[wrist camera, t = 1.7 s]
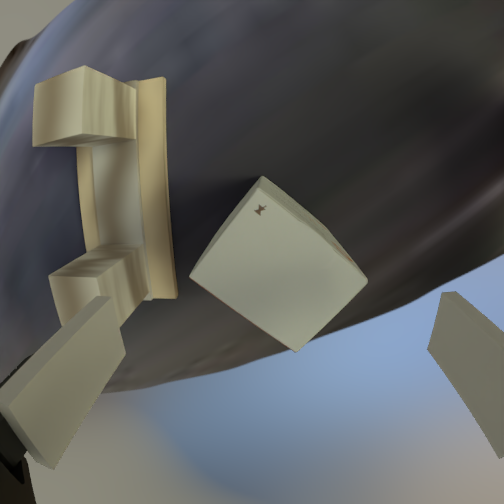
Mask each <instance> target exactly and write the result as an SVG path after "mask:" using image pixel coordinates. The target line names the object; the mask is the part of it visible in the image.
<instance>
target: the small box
mask: <svg viewBox="0 0 504 504" xmlns="http://www.w3.org/2000/svg"><path fill="white" fill-rule="evenodd" d="M189 278H190V279H192V280H193V281H194V282H196V283H197V284H198V285H200V286H201V287H202V288H204V289H205V290H206V291H208V292H209V293H211V294H212V295H213V296H215V297H216V298H217V299H219V300H220V301H221V302H223V303H224V304H226V305H227V306H228V307H230V308H231V309H233V310H234V311H236V312H237V313H239V314H240V315H241V316H243V317H244V318H245V319H247V320H248V321H250V322H251V323H253V324H254V325H255V326H257V327H258V328H260V329H261V330H263V331H264V332H266V333H267V334H268V335H270V336H271V337H273V338H274V339H276V340H277V341H279V342H280V343H282V344H283V345H285V346H286V347H288V348H289V349H291V350H292V351H294V352H298V351H299V350H300V349H301V348H302V347H303V346H304V345H305V344H306V343H307V342H308V341H309V340H310V339H311V338H313V337H314V336H315V335H316V334H317V333H318V332H319V331H320V330H321V329H322V328H323V327H324V326H325V325H326V324H327V323H328V322H329V321H330V320H331V319H332V318H333V317H334V316H335V315H336V314H337V313H339V312H340V311H341V310H342V309H343V308H344V307H345V306H346V305H347V304H348V303H349V302H350V301H351V300H352V299H353V298H354V297H355V295H356V294H357V293H358V292H359V291H360V290H361V289H362V288H363V287H364V286H365V285H366V284H367V283H368V279H367V278H366V276H365V275H364V274H363V272H362V271H361V270H360V268H359V267H358V266H357V265H356V264H355V262H354V261H353V260H352V258H351V257H350V256H349V255H348V253H347V252H346V251H345V250H344V248H343V247H342V246H341V245H340V244H339V243H338V241H337V240H336V239H335V238H334V236H333V235H332V234H331V233H330V232H329V230H328V229H327V228H326V227H325V226H324V225H323V224H322V223H321V222H320V221H318V220H317V219H316V218H315V217H314V216H313V215H311V214H310V213H309V212H308V211H307V210H306V209H304V208H303V207H302V206H301V205H300V204H298V203H297V202H296V201H295V200H293V199H292V198H291V197H290V196H289V195H287V194H286V193H285V192H284V191H282V190H281V189H280V188H279V187H277V186H276V185H275V184H274V183H272V182H271V181H270V180H268V179H267V178H266V177H264V176H261V177H260V178H259V179H258V180H257V182H256V183H255V184H254V185H253V186H252V188H251V189H250V190H249V191H248V193H247V194H246V195H245V196H244V197H243V199H242V200H241V201H240V202H239V204H238V205H237V206H236V208H235V209H234V210H233V211H232V213H231V214H230V215H229V216H228V218H227V219H226V220H225V222H224V223H223V224H222V226H221V227H220V228H219V230H218V231H217V233H216V234H215V236H214V237H213V239H212V240H211V242H210V243H209V245H208V246H207V248H206V249H205V251H204V252H203V254H202V255H201V257H200V259H199V260H198V262H197V263H196V265H195V267H194V268H193V270H192V272H191V274H190V276H189Z"/></svg>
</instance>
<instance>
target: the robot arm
mask: <svg viewBox="0 0 504 504" xmlns="http://www.w3.org/2000/svg"><path fill="white" fill-rule="evenodd" d="M427 350H428V351H429V352H430V354H431V355H432V357H433V358H434V359H435V361H436V362H437V364H438V365H439V366H440V368H441V369H442V371H443V372H444V373H445V375H446V376H447V378H448V379H449V381H450V382H451V383H452V385H453V386H454V388H455V389H456V391H457V392H458V394H459V395H460V397H461V398H462V400H463V401H464V403H465V404H466V406H467V407H468V409H469V410H470V412H471V413H472V415H473V417H474V418H475V420H476V421H477V423H478V424H479V426H480V428H481V429H482V431H483V432H484V434H485V436H486V437H487V439H488V441H489V442H490V444H491V446H492V447H493V449H494V451H495V453H496V454H497V456H498V458H499V459H500V458H502V457H504V332H503V331H502V330H500V329H499V328H498V327H497V326H496V325H495V324H494V323H493V322H491V321H490V320H489V319H488V318H487V317H486V316H485V315H483V314H482V313H481V312H480V311H478V310H477V309H476V308H475V307H474V306H473V305H472V304H470V303H469V302H468V301H467V300H466V299H464V298H463V297H462V296H461V295H459V294H458V293H457V292H456V291H455V292H444V293H442V294H441V299H440V303H439V307H438V312H437V316H436V320H435V324H434V328H433V331H432V335H431V339H430V342H429V345H428V349H427ZM125 355H126V352H125V348H124V344H123V341H122V337H121V333H120V329H119V325H118V321H117V316H116V312H115V308H114V303H113V298H112V297H107V296H96V297H95V298H94V299H93V300H91V301H90V302H89V303H88V304H87V305H86V306H85V307H84V308H82V309H81V310H80V311H79V312H78V313H77V314H76V315H75V316H74V317H73V318H71V319H70V320H69V321H68V322H67V323H66V324H65V325H64V326H63V327H62V328H61V329H60V330H59V331H57V332H56V333H55V334H54V335H53V336H52V337H51V338H50V339H49V340H48V341H47V342H46V343H45V344H44V345H43V346H42V347H41V348H40V349H39V350H38V351H37V352H36V353H34V354H32V355H31V356H29V357H27V358H25V359H24V360H23V361H22V362H21V363H20V364H19V365H18V366H17V369H14V370H13V371H12V372H11V373H10V376H9V375H8V376H7V377H6V379H5V380H4V381H3V382H2V383H1V384H0V504H36V501H35V497H34V493H33V488H32V483H31V478H30V473H29V467H28V463H27V460H26V458H25V457H24V454H25V453H26V451H28V452H29V453H30V455H31V456H32V457H33V459H34V460H35V461H36V462H38V463H40V464H42V465H44V466H46V467H48V468H50V469H52V470H54V469H55V467H56V465H57V464H58V462H59V460H60V458H61V457H62V455H63V453H64V452H65V450H66V448H67V447H68V445H69V443H70V442H71V440H72V438H73V436H74V435H75V433H76V432H77V430H78V428H79V427H80V425H81V423H82V422H83V420H84V419H85V417H86V415H87V414H88V412H89V410H90V409H91V407H92V406H93V404H94V403H95V401H96V399H97V398H98V396H99V395H100V393H101V392H102V390H103V388H104V387H105V385H106V384H107V382H108V381H109V379H110V378H111V376H112V375H113V373H114V372H115V370H116V368H117V367H118V365H119V364H120V362H121V361H122V359H123V358H124V356H125Z"/></svg>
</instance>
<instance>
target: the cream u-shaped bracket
mask: <svg viewBox="0 0 504 504" xmlns="http://www.w3.org/2000/svg"><path fill="white" fill-rule="evenodd" d="M51 146H73V147H77V171H78V186H79V198H80V208H81V216H82V225H83V232H84V239H85V246H86V252H87V253H85V254H84V255H82V256H80V257H79V258H77V259H75V260H73V261H72V262H70V263H68V264H67V265H65V266H63V267H62V268H60V269H58V270H57V271H55V272H53V273H52V274H50V275H48V277H49V282H50V286H51V290H52V294H53V298H54V301H55V305H56V308H57V312H58V315H59V319H60V322H61V325H62V327H63V326H64V325H65V324H66V323H67V322H68V321H69V320H70V319H71V318H73V317H74V316H75V315H76V314H77V313H78V312H79V311H80V310H81V309H82V308H84V307H85V306H86V305H87V304H88V303H89V302H90V301H91V300H93V299H94V298H95V297H96V296H107V297H112V298H113V303H114V308H115V312H116V316H117V321H118V325H119V328H120V327H121V325H122V324H123V323H124V322H125V321H126V319H127V318H128V317H129V316H130V315H131V313H132V312H133V311H134V310H135V309H136V307H137V306H138V305H139V304H140V303H141V302H142V300H152V299H153V298H166V299H176V298H177V296H178V288H177V280H176V271H175V262H174V252H173V242H172V231H171V218H170V205H169V189H168V170H167V144H166V79H165V78H164V77H159V78H153V79H148V80H142V81H137V80H133V81H129V82H124V83H122V82H120V81H118V80H116V79H114V78H111V77H109V76H107V75H105V74H103V73H101V72H98V71H96V70H94V69H92V68H89V67H87V66H82V67H79V68H76V69H73V70H71V71H68V72H65V73H63V74H60V75H57V76H55V77H52V78H50V79H48V80H45V81H43V82H40V83H38V84H36V85H35V91H34V105H33V147H51Z"/></svg>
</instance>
